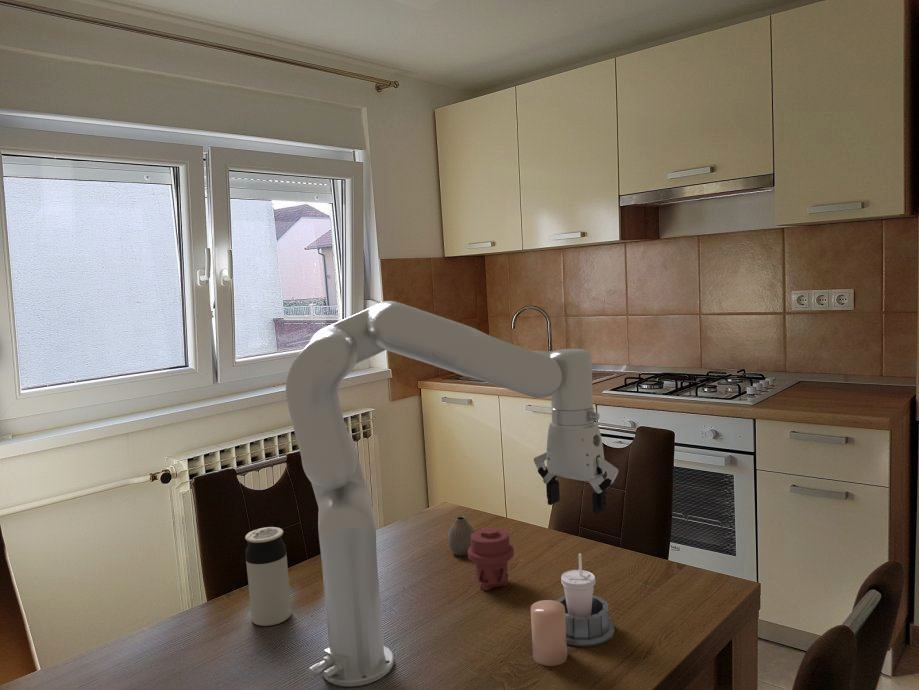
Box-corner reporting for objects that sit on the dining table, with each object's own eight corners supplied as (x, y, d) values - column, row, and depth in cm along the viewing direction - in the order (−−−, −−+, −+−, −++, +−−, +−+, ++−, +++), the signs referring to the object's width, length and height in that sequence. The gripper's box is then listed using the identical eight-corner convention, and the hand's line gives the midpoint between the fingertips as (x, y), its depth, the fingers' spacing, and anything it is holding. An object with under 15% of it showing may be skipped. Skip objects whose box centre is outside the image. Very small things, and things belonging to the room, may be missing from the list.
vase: (445, 550, 174) (443, 515, 173) (471, 545, 176) (469, 511, 175) (453, 560, 168) (451, 525, 167) (480, 555, 170) (478, 520, 169)
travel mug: (298, 609, 147) (291, 527, 145) (279, 628, 139) (271, 541, 138) (265, 607, 149) (257, 525, 147) (244, 625, 142) (235, 539, 140)
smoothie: (603, 630, 130) (600, 558, 128) (571, 637, 128) (568, 563, 127) (588, 615, 136) (585, 545, 134) (557, 621, 134) (554, 550, 133)
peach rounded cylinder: (555, 669, 119) (552, 619, 119) (526, 659, 123) (523, 610, 122) (573, 654, 124) (571, 605, 123) (545, 644, 128) (542, 597, 127)
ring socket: (594, 654, 124) (593, 628, 123) (537, 634, 131) (536, 610, 131) (626, 625, 133) (625, 601, 132) (571, 608, 140) (570, 585, 140)
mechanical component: (471, 575, 159) (515, 574, 158) (467, 595, 149) (515, 594, 148) (468, 522, 158) (513, 521, 157) (464, 539, 148) (512, 538, 147)
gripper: (625, 417, 125) (628, 510, 127) (544, 408, 136) (547, 494, 138) (604, 425, 119) (608, 522, 121) (521, 416, 131) (525, 505, 132)
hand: (575, 507), depth 129 cm, fingers open, 9 cm apart
